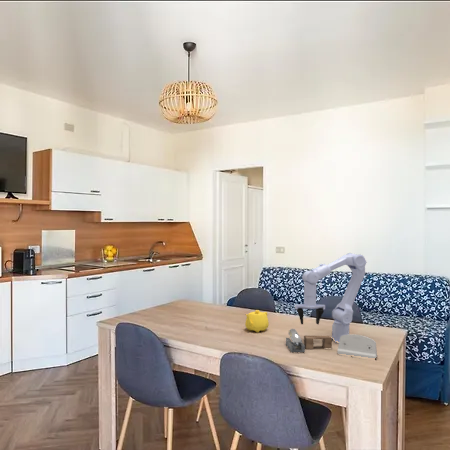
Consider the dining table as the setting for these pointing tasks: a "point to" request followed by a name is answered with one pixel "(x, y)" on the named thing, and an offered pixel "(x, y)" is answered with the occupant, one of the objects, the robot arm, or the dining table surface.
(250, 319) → the teapot
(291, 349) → the v block
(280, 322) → the dining table surface
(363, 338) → the hinge
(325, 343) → the beam
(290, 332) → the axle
